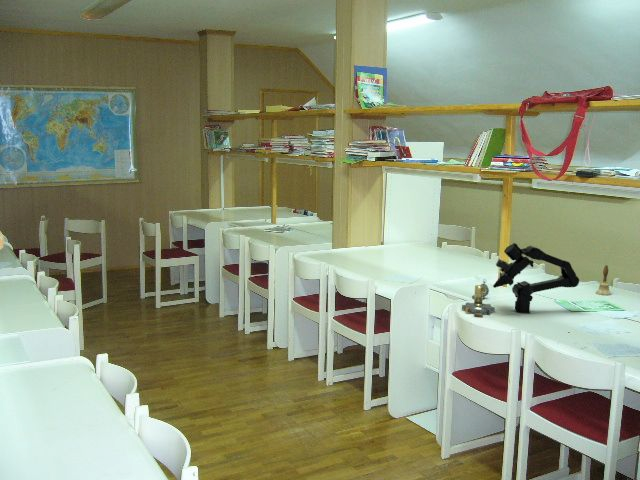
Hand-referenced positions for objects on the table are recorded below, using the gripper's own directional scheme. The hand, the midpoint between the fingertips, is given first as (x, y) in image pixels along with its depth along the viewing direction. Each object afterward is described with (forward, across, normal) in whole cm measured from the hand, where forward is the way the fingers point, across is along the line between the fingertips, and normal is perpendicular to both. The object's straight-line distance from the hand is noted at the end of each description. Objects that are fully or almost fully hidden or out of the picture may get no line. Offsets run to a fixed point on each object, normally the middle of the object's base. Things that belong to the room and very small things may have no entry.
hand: (493, 286), depth 331 cm
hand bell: (-35, -52, +52) cm, 82 cm away
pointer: (+13, +16, +3) cm, 21 cm away
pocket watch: (+12, -22, +4) cm, 26 cm away
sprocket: (+13, +5, +3) cm, 14 cm away
